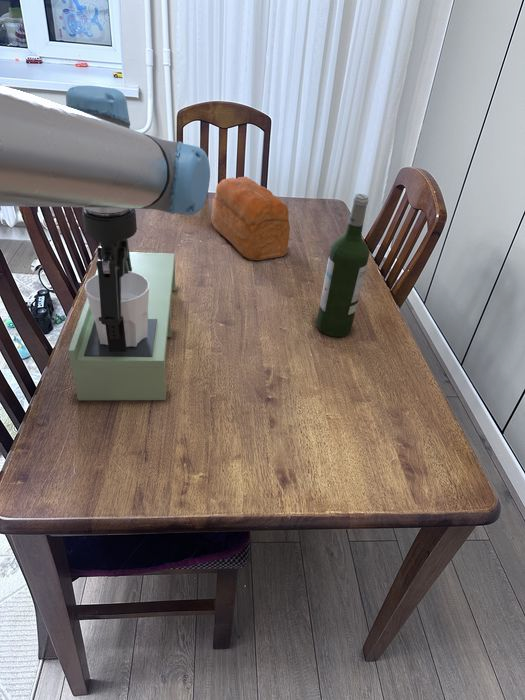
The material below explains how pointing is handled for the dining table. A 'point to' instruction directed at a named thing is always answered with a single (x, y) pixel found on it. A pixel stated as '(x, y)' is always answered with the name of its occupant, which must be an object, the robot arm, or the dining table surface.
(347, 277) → the wine bottle
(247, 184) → the bread
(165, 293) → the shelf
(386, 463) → the dining table surface
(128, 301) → the cup
